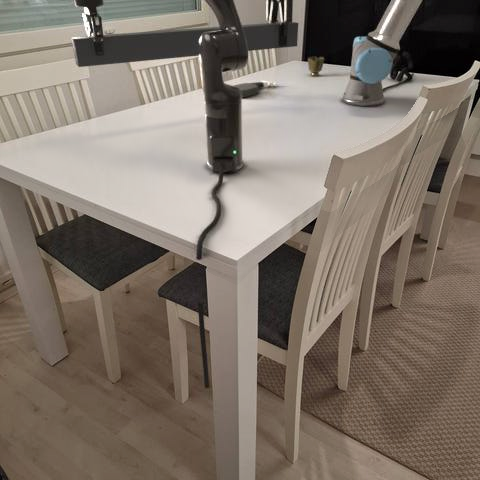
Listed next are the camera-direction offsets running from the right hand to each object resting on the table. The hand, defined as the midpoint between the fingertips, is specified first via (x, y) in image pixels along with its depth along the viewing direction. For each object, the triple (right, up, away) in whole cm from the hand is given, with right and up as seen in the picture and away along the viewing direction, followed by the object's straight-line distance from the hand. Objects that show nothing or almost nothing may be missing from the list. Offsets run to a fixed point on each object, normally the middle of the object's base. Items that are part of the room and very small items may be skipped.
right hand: (278, 44), depth 153 cm
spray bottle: (-8, -5, +35) cm, 36 cm away
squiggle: (+59, +5, +47) cm, 75 cm away
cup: (+22, +10, +58) cm, 63 cm away
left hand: (-54, -13, -24) cm, 61 cm away
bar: (-27, -8, -11) cm, 31 cm away
